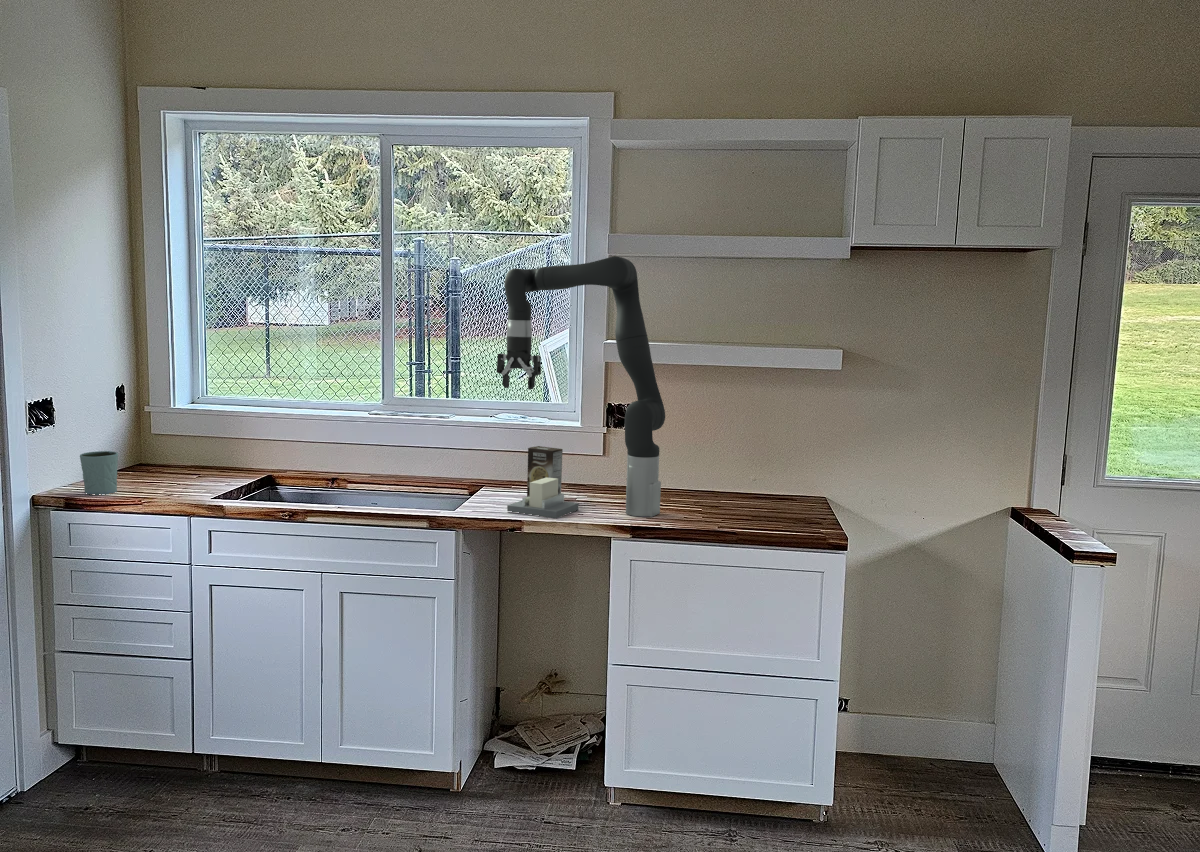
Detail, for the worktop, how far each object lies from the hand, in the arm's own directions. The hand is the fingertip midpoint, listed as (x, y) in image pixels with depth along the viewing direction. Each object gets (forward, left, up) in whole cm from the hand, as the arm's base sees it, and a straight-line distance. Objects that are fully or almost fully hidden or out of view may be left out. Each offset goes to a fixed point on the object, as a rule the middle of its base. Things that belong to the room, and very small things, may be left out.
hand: (518, 388), depth 294 cm
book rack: (-16, +12, -34) cm, 40 cm away
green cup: (+109, +61, -34) cm, 130 cm away
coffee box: (-8, -3, -34) cm, 35 cm away
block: (-16, +12, -32) cm, 38 cm away
